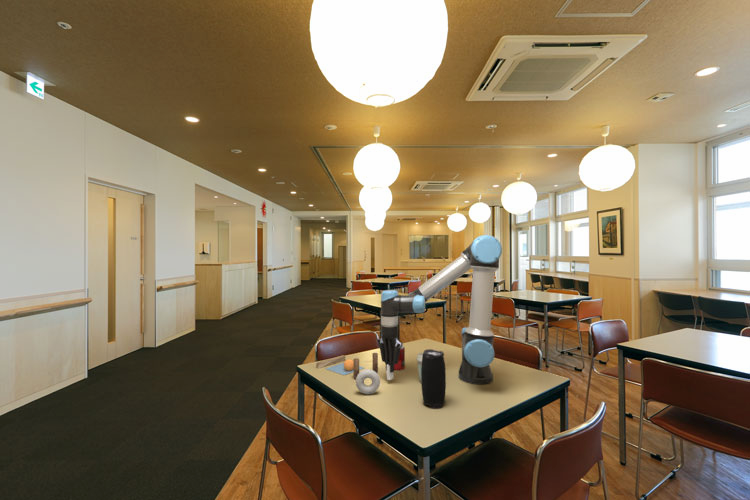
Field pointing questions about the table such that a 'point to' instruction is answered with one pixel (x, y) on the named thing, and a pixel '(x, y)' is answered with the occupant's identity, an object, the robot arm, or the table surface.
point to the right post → (375, 362)
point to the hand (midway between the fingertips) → (390, 379)
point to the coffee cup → (419, 364)
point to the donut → (367, 388)
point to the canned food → (401, 360)
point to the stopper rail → (330, 361)
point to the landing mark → (341, 369)
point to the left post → (356, 367)
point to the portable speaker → (433, 378)
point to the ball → (349, 365)
